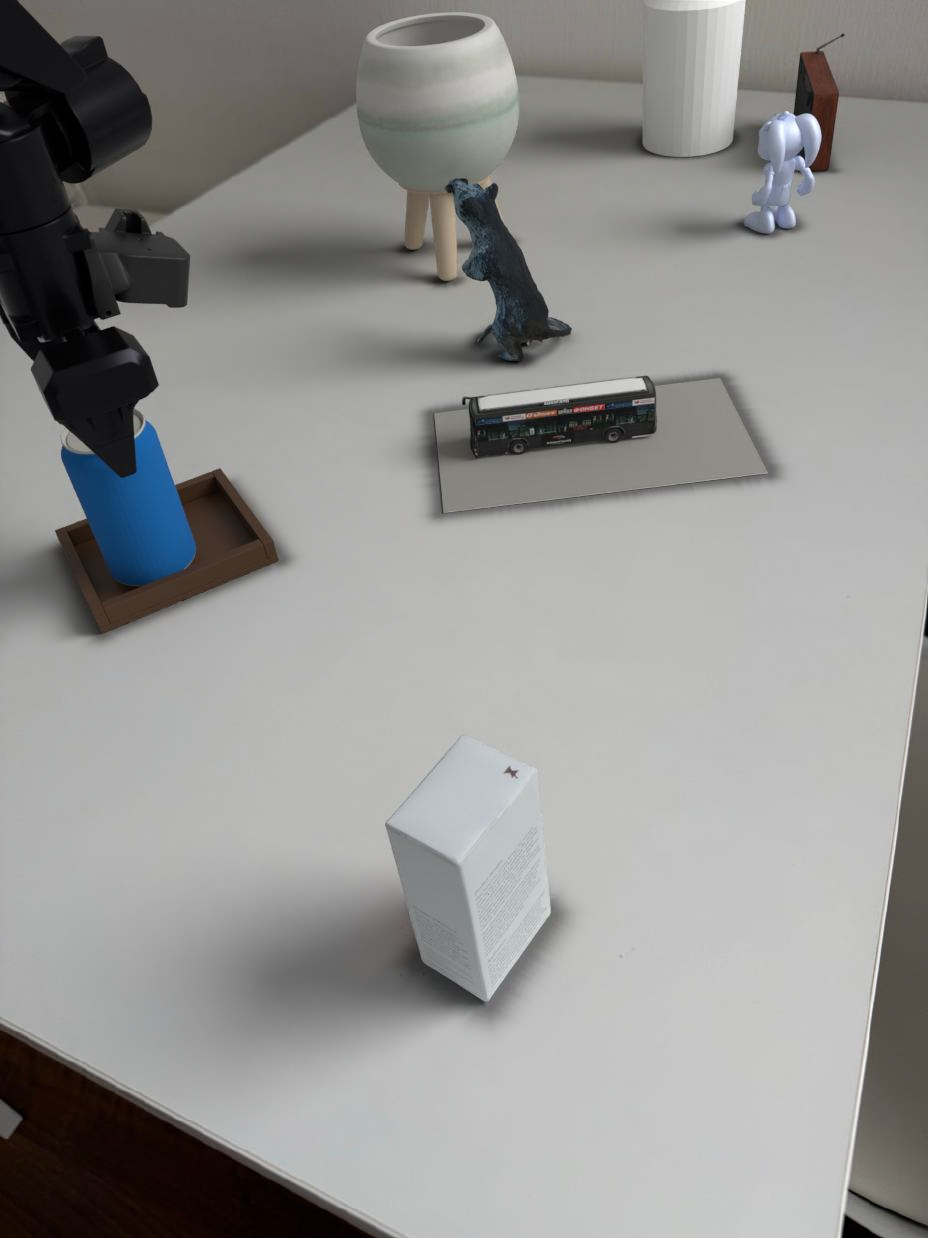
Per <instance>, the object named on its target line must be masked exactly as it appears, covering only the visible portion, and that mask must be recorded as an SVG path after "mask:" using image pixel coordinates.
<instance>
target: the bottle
mask: <svg viewBox="0 0 928 1238" xmlns="http://www.w3.org/2000/svg"><path fill="white" fill-rule="evenodd" d="M746 1H747V0H642V146H643V148H644V149H645V150H647V151H649V152H650V153H653V154H656V155H660V156H664V157H672V158H673V157H674V158H688V157H689V158H691V157H700V156H706V155H710V154H711V155H712V154H714V153H717V152H720V151H722V150H724V149H726V148H728V147H729V146H730V145H731V144H732V143H733V141H734V131H735V119H736V109H737V98H738V89H739V76H740V67H741V66H740V65H741V57H742V45H743V34H744V23H745V12H746Z"/></svg>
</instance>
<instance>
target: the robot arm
mask: <svg viewBox="0 0 928 1238" xmlns="http://www.w3.org/2000/svg"><path fill="white" fill-rule="evenodd" d="M1 92H2V93H3V94H4V97H5V101H2V102H1V101H0V320H1V322H2V324H3V325H4V327H5V328H6V330H7V332H8V334H9V336H10V338H11V339H12V340H13V341H14V342H15V344H16V345H18V347H19V348H20V349H21V350H22V351H23V353H25V354H26V355H27V356H28V358H30V360H31V361H32V362H33V363H32V365H31V367H30V372H31V374H32V376H33V380H34V381H35V384H36V387H37V388H38V390H39V392H40V395H41V397H42V399H43V401H44V403H45V405H46V407H47V409H48V411H49V413H50V415H51V416H52V418H53V420H54V421H55V422H57V423H58V424H59V425H61V426H63V427H64V428H65V427H66V428H67V429H68V430H69V431H70V432H71V433H72V434H74V435H75V436H76V437H77V438H78V439H79V440H80V441H81V442H83V443H84V444H85V445H86V446H87V447H88V448H89V449H90V450H91V451H92V452H94V453H95V454H96V455H97V456H98V457H99V458H100V459H101V460H102V461H103V462H104V463H105V464H106V465H107V466H108V467H110V468H111V469H112V470H113V471H114V472H115V473H116V474H117V475H118V476H119V477H120V478H125V477H127V476H130V475H133V474H135V473H136V471H137V468H136V453H135V438H134V417H133V411H134V408H136V406H137V404H138V403H139V402H140V401H141V400H143V399H146V398H147V397H149V396H150V395H151V393H154V391H156V390H157V388H158V387H159V386H160V383H159V380H158V377H157V375H156V372H155V368H154V366H153V363H152V360H151V357H150V355H149V354H148V352H147V351H146V350H145V349H144V347H143V346H142V344H141V343H140V342H139V341H138V339H137V338H136V337H135V335H133V334H132V333H129V332H127V331H126V330H124V329H121V328H119V327H117V326H115V325H112V326H109V327H106V328H103V329H101V328H100V326H99V325H98V324H97V322H96V321H95V320H97V319H99V320H101V321H104V320H108V319H110V318H114V317H117V316H120V315H122V313H121V309H120V307H119V304H118V302H120V303H124V304H138V305H139V304H140V305H166V306H167V307H168V308H170V309H180V308H185V307H186V306H188V301H189V300H188V298H189V283H190V267H191V254H190V253H189V252H188V251H187V250H186V249H185V248H184V247H183V246H182V245H181V244H180V243H179V242H178V241H177V240H176V239H174V238H173V237H171V236H167V235H165V233H163V232H162V231H155V234H154V233H152V231H151V228H150V227H149V224H148V222H147V219H146V218H145V217H144V216H143V214H141V213H140V211H139V210H137V209H133V208H132V209H131V208H118V207H117V208H114V210H113V212H112V214H111V216H110V217H109V219H108V221H107V223H106V225H105V227H98V231H90V229H88V227H86V228H85V227H83V226H82V224H81V222H80V219H79V217H78V215H77V214H76V213H75V212H74V210H73V207H72V203H71V201H70V198H69V196H68V195H69V194H68V192H67V190H66V187H65V184H64V183H67V184H73V185H76V184H81V183H84V182H86V181H87V180H89V179H91V178H93V177H95V176H96V175H98V174H99V173H101V172H102V171H105V170H106V169H108V168H109V167H111V166H112V165H115V164H116V163H118V162H120V161H121V160H123V159H124V158H126V157H128V156H129V155H131V154H133V153H135V152H136V151H138V150H140V149H141V148H142V147H144V146H145V145H146V143H148V141H149V140H150V137H151V133H152V130H153V115H152V114H153V113H152V109H151V105H150V101H149V98H148V96H147V94H146V93H145V92H143V91H142V89H141V87H140V85H139V83H138V82H137V80H135V78H134V77H133V76H132V74H131V73H130V71H128V70H127V69H126V68H125V67H124V65H122V64H121V63H120V62H117V61H116V60H114V58H112V57H109V54H108V51H107V48H106V45H105V42H104V38H103V37H101V35H73V36H72V37H69V38H67V39H65V40H64V41H62V42H61V43H59V41H57V40H56V39H55V38H54V37H53V36H52V35H51V33H49V32H48V30H47V29H46V28H45V27H44V26H43V25H42V24H41V23H40V22H39V21H38V20H37V19H36V18H35V17H34V16H33V15H32V14H31V13H30V12H29V11H28V10H27V9H26V8H25V7H24V6H23V4H22V3H20V1H19V0H0V93H1Z"/></svg>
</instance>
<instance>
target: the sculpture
mask: <svg viewBox="0 0 928 1238" xmlns="http://www.w3.org/2000/svg"><path fill="white" fill-rule="evenodd" d="M491 183H492V184H491V185H490V186H489V187H487V188H485V190H484V189H483V188H482V187H481V186H480V185H479V184H477V183H476V184H472V185H468V180H467V179H466V178H460V179H457V178H455V179H452V180H450V181H449V182H448V185H446V186H445V190H446V191H447V193H452V194H453V199H454V206H455V213H456V217H457V218H458V219H459V220H460V221H461V222H462V223H463V224H464V225H465V226H466V228H467V230H468V231H469V234H470V238H471V246H472V248H471V251H470V253H469V255H468V258H467V259H465V261H464V263H462V264H461V270H462V272H463V274H465V276H466V277H467V278H469V279H472V280H474V281H478V282H486V281H487V282H488V283H489V286H490V288H491V291H492V293H493V296H494V299H495V300H494V301H495V307H496V311H495V315H494V318H493V322H492V323H491V324H489V325H488V326H487V327H486V328H485V329H484V331H483V332H482V333H481V335H479V338H478V339H477V344H479V345H480V344H481V342H483V340H484V339H485V338H486V337H487V336H489V334H490V333H491V332H492V335H493V336H494V339H495V341H496V343H498V344H499V345H500V346H501V347H502V348H503V350H505V351H504V352H500V354H499V355H498V356H497V357H498V358H500V359H501V360H504V361H510V362H522V361H524V357H525V356H524V350H523V347H522V343H524V344H527V345H528V346H530V344H532V342H533V341H538V342H539V343H541V344H542V343H543V342H544V341H546V340H549V339H555V338H556V339H557V338H565V337H570V336H571V334H572V330H573V328H572V327H571V325H569V324H568V323H566V322H564V321H562V320H559V319H557V318H555V317H553V316H552V317H550V316H549V312H550V311H549V307H548V304H547V303H546V300H545V297H544V296H543V294H542V293H541V291H540V290H539V288H538V286H537V283H536V282H535V280H534V278H533V276H532V273H531V271H530V269H529V266H528V264H527V260H526V258H525V256H524V253H523V250H522V249H521V247H520V246H519V244H518V243H517V240H516V239H515V238H514V236H513V235H512V233H511V232H510V231H509V229H508V227H507V226H506V224H505V225H504V223H505V222H504V223H503V221H502V219H501V217H500V214H499V211H498V208H497V205H496V203H495V199H497V197H498V194H499V186H498V184H497V183H496V182H491ZM551 327H555V328H557V329H553V328H551Z"/></svg>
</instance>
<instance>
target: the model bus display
mask: <svg viewBox="0 0 928 1238" xmlns="http://www.w3.org/2000/svg"><path fill="white" fill-rule="evenodd" d="M467 400H469V402H468V408H466V409H465V408H464V409H459V410H451V411H450V410H449V411H443V412H434V413H433V414H434V415H433V416H434V426H435V438H436V448H437V459H438V469H439V470H438V471H439V481H440V490H441V501H442V512H443V514H447V513H455V512H462V511H470V510H479V509H486V508H487V509H488V508H495V507H504V506H512V505H521V504H528V503H536V502H544V501H551V500H553V501H554V500H560V499H561V500H562V499H567V498H569V499H570V498H577V497H578V498H579V497H584V496H592V495H600V494H602V495H603V494H609V493H610V494H611V493H619V492H625V491H633V490H634V491H635V490H641V489H642V490H643V489H650V488H651V489H652V488H659V487H666V486H667V487H668V486H675V485H683V484H691V483H699V482H709V481H715V480H723V479H725V480H726V479H732V478H733V479H734V478H740V477H741V478H742V477H748V476H757V475H764V474H768V473H769V471H768V470H767V467H766V466H765V464H764V462H763V460H762V458H761V456H760V454H759V452H758V450H757V448H756V446H755V444H754V442H753V440H752V438H751V437H750V435H749V433H748V431H747V429H746V427H745V424H744V422H743V421H742V419H741V417H740V415H739V413H738V411H737V408H736V407H735V405H734V403H733V401H732V399H731V397H730V395H729V392H728V391H727V388H726V386H725V385H724V383H723V381H722V379H721V377H718V378H717V377H716V378H709V379H708V378H707V379H700V380H693V381H685V382H677V383H676V382H675V383H669V384H667V383H666V384H661V385H660V384H659V385H655V384H654V382H653V381H652V379H651V378H650V376H649V375H640V376H638V375H637V376H628V377H620V378H612V379H604V380H596V381H588V382H580V383H571V384H563V385H557V386H556V385H555V386H547V387H540V388H533V389H524V390H517V391H509V392H500V393H492V394H486V395H479V396H463V397H462V398H461V405H462V406H466V401H467Z"/></svg>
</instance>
